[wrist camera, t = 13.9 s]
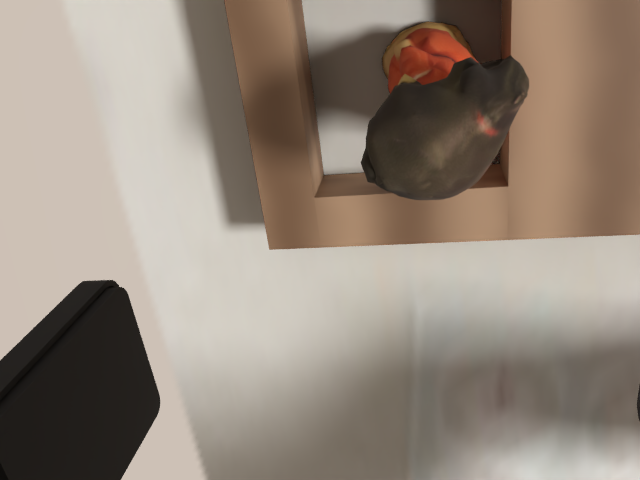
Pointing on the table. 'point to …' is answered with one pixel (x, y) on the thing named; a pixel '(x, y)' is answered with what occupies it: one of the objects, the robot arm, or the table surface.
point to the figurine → (440, 114)
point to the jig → (500, 179)
